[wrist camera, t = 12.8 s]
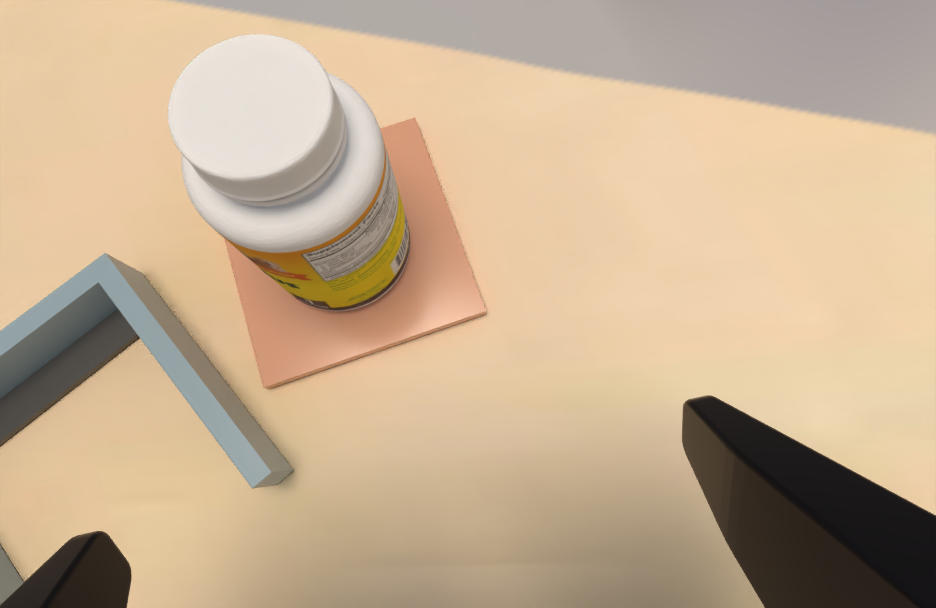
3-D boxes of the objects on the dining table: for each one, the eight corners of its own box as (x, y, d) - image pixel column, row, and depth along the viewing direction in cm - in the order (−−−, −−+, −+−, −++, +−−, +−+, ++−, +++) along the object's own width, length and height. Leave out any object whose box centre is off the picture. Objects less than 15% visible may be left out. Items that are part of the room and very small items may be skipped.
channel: (293, 470, 22) (271, 472, 20) (53, 677, 21) (-4, 706, 18) (142, 273, 24) (105, 253, 22) (-88, 447, 23) (-155, 446, 20)
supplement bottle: (250, 230, 24) (92, 72, 14) (368, 162, 25) (295, -34, 15) (317, 343, 23) (195, 256, 13) (439, 269, 24) (410, 131, 14)
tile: (485, 314, 24) (486, 310, 23) (268, 389, 23) (263, 387, 23) (416, 125, 26) (415, 117, 25) (216, 189, 25) (210, 182, 25)
